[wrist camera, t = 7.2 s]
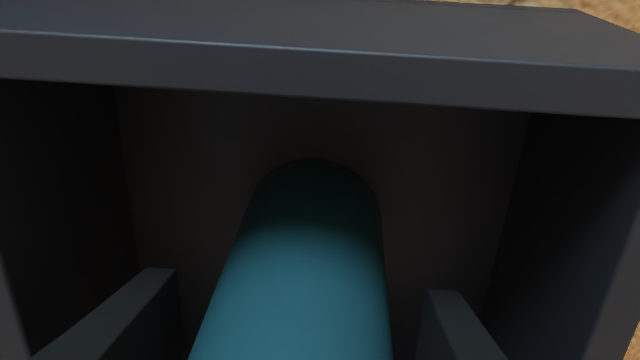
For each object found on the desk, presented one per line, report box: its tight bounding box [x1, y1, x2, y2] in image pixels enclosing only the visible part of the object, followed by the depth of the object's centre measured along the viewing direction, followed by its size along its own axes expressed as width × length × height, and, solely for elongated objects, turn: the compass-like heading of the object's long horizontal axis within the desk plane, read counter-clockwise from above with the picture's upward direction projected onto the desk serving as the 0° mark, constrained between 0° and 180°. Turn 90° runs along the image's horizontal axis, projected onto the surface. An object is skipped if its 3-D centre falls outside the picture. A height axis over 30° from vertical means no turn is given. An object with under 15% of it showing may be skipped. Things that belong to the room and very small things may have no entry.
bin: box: [0, 0, 640, 360], centre depth 12 cm, size 11×11×6 cm
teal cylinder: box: [188, 160, 393, 360], centre depth 11 cm, size 4×4×7 cm
